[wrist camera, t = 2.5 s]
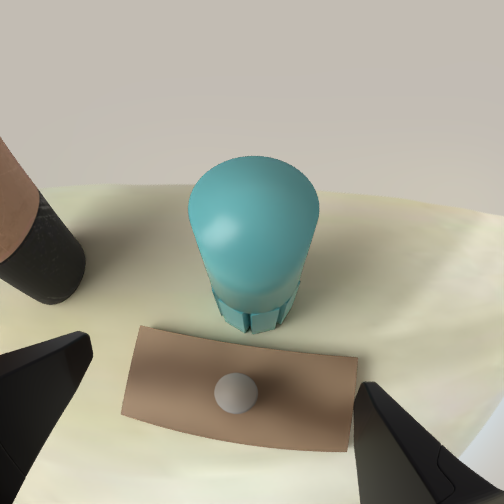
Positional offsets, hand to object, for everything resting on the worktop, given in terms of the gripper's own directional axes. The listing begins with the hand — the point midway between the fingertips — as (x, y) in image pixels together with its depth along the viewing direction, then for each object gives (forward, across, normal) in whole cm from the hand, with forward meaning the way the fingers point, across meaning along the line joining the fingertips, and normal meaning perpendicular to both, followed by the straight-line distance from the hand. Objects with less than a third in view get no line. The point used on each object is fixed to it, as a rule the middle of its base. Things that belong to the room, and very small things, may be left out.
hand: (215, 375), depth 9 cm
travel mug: (+14, +19, +5) cm, 24 cm away
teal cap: (+14, 0, +4) cm, 15 cm away
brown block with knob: (+9, 0, +9) cm, 13 cm away
